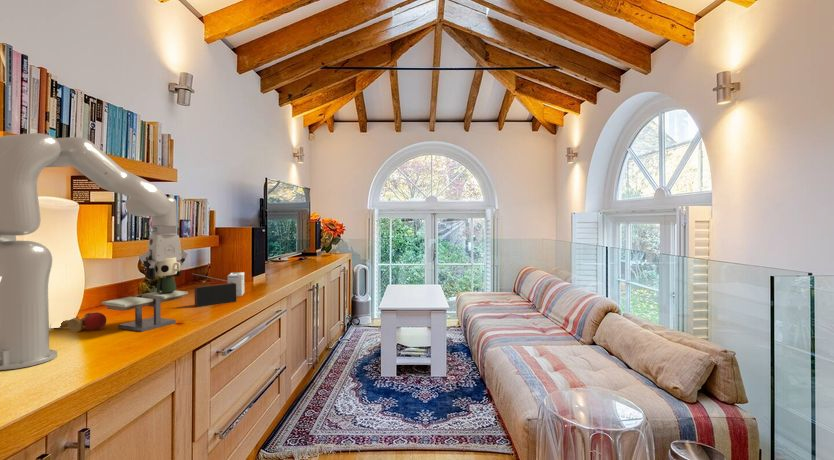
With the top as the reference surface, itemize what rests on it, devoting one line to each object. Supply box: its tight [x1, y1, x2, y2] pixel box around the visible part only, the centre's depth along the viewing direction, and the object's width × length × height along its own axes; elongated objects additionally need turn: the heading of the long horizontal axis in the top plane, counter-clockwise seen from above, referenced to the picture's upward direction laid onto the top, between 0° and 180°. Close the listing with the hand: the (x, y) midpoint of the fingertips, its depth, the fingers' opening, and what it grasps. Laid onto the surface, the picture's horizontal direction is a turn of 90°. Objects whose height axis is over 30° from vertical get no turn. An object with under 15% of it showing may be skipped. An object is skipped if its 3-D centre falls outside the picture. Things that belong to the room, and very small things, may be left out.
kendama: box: [60, 311, 107, 333], centre depth 133 cm, size 8×6×18 cm
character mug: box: [153, 257, 182, 293], centre depth 144 cm, size 11×7×13 cm, turn 88°
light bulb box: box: [227, 271, 245, 297], centre depth 196 cm, size 11×7×11 cm, turn 17°
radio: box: [190, 272, 237, 308], centre depth 174 cm, size 19×3×15 cm, turn 136°
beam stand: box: [118, 294, 177, 333], centre depth 138 cm, size 12×12×10 cm
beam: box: [101, 290, 189, 312], centre depth 138 cm, size 22×12×3 cm, turn 158°
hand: (164, 277), depth 143 cm, fingers open, 9 cm apart
